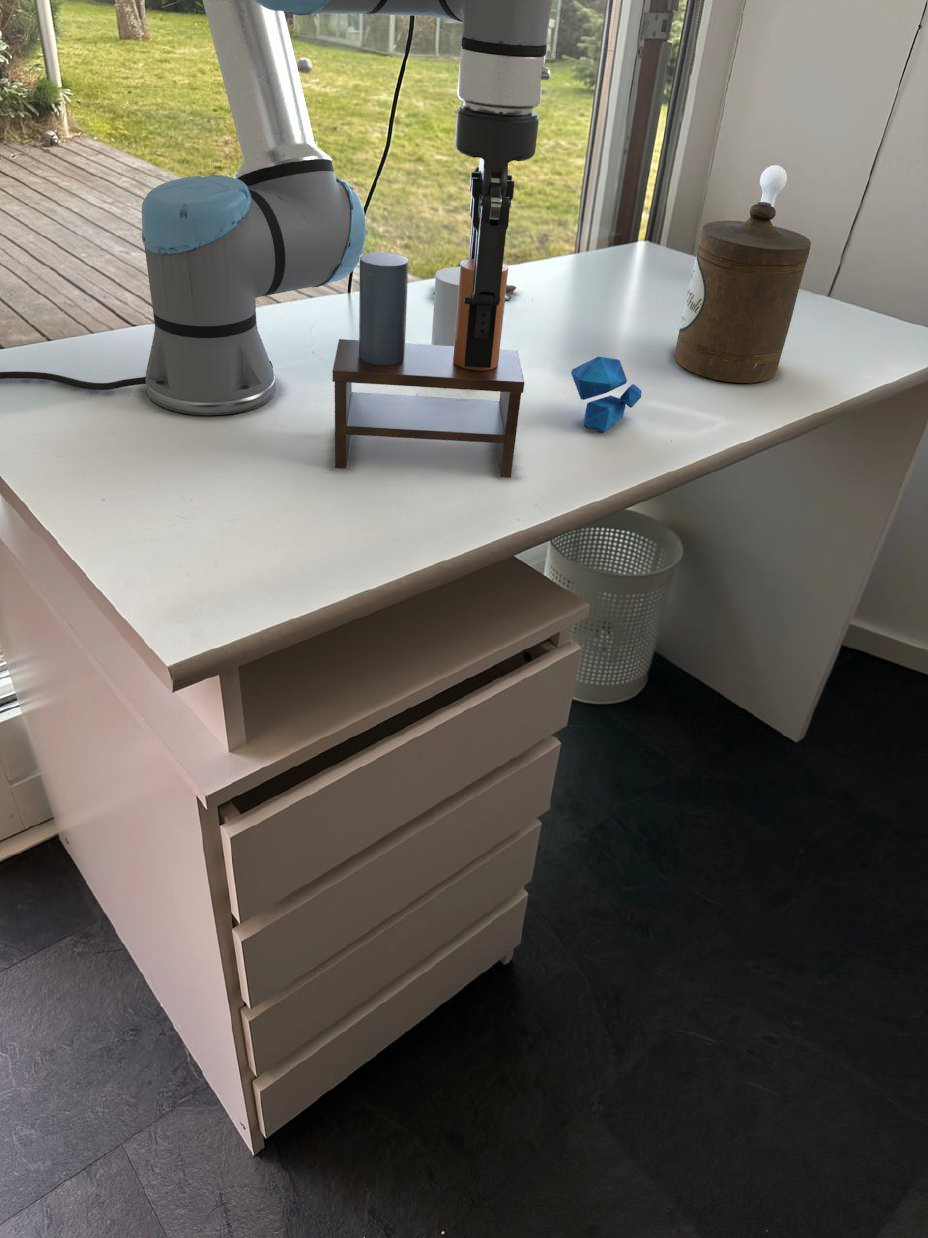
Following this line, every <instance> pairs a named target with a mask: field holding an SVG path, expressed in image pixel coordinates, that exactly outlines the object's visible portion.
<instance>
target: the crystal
mask: <svg viewBox="0 0 928 1238" xmlns="http://www.w3.org/2000/svg"><path fill="white" fill-rule="evenodd" d="M570 375H571V377H572V379H573V382H574V385H575V387H576V390H577V393H578V395H579V399H580V400H582V401H584V400H588V399H591V398H595V397H598V396H602V395H604V394H605V395H606V394H608V393H610V392H612V391H613V390H615V389H618V388H620V387H622V386H625V385H626V384H627V382H628V380H627V379H628V378H627V376H626V374H625V370H624V368H623V365H622V363H621V360H620V359H617V358H612V357H604V356H596V357H594V358H592V359H590V360H588V361H586V362H584V363H582V364H580V365H578V366H576V367H575V368H573V369H571V371H570ZM641 398H642V390H641V388H639V387H638V386H637V385H636V384H634V383H632V384H631V385H629V386H628V387H627V389H626V390H624V392H623V393H622V394H621V396H620V397H617V396H614V395H607V396H604V397H601V398H597V399H594V400H592V401H589V402H587V403H586V407H585V412H584V416H583V422H582V424H583V426H584V427H585V428H588V429H591V430H594V431H597V432H599V433H605V432H606V431H607V430H609V429H610V428H611V427H613V426H614V425H616V424H617V423H618V422H619V421H621V420H622V419H623V418H624V415H625V410H626V406H627V407H628V408H631V409H632V408H634V406H635V405H636V404H637V403H638V401H639V400H640V399H641Z"/></svg>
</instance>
